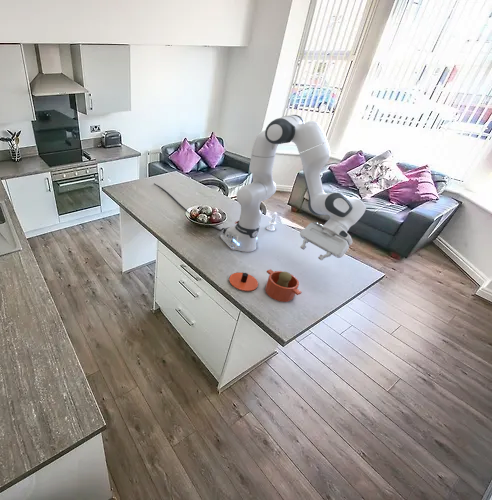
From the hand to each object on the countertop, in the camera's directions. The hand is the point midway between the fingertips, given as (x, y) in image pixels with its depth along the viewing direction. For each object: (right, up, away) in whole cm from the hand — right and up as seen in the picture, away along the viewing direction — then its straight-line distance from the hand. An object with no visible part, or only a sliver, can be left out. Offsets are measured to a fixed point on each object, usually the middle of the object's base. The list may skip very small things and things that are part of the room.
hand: (310, 253), depth 131 cm
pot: (-11, -19, +6) cm, 23 cm away
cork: (-11, -18, +6) cm, 22 cm away
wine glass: (+7, +15, +57) cm, 59 cm away
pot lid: (-27, -14, +11) cm, 32 cm away
